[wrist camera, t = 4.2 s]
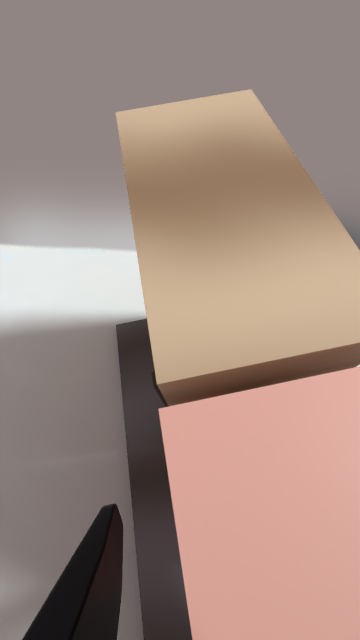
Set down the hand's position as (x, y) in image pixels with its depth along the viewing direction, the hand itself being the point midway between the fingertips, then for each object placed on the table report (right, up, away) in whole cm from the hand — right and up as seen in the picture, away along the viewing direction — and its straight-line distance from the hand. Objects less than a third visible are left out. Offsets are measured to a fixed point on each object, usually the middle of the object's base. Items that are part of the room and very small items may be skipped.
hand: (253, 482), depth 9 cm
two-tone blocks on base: (0, -3, +6) cm, 7 cm away
